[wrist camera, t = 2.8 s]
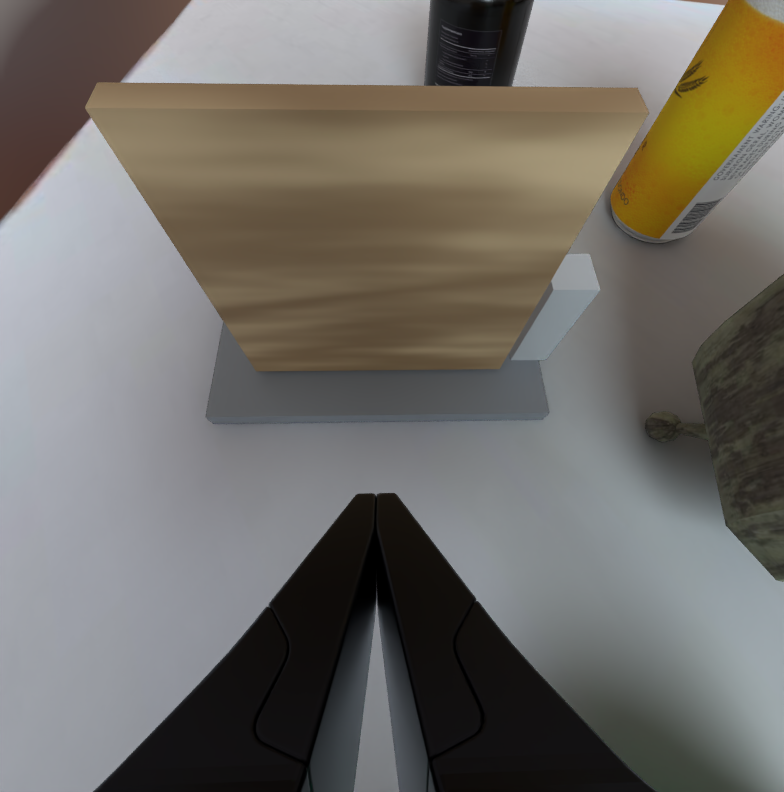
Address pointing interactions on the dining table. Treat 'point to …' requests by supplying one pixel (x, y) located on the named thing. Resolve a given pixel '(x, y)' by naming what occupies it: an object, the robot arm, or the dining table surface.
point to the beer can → (708, 126)
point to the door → (370, 208)
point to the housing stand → (408, 376)
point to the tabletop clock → (744, 422)
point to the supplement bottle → (475, 41)
